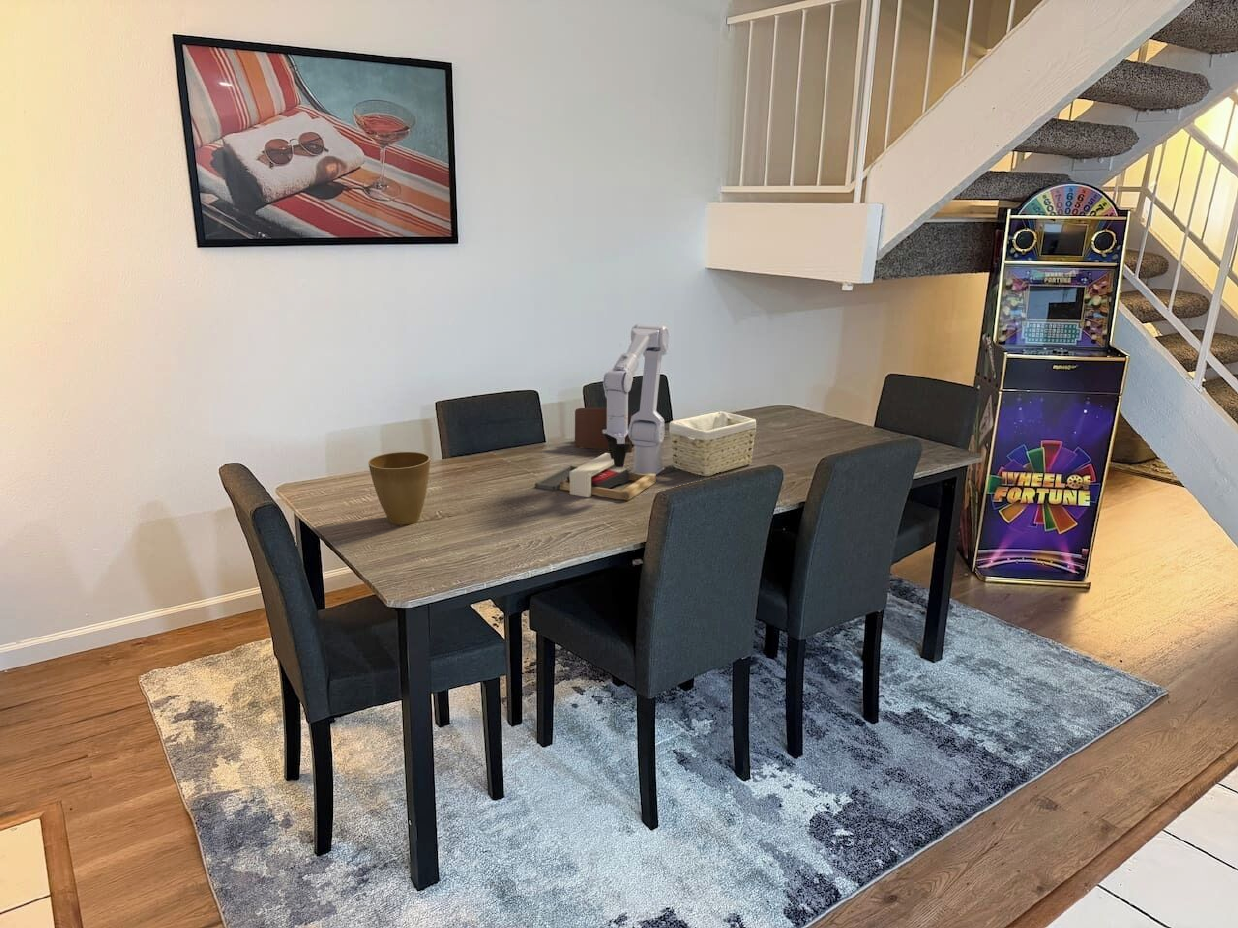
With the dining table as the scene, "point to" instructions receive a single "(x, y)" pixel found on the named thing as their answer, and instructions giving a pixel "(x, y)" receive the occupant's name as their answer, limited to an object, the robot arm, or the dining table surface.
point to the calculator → (608, 477)
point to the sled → (627, 493)
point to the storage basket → (712, 442)
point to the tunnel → (578, 476)
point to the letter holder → (594, 428)
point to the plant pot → (401, 484)
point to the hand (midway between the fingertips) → (616, 462)
